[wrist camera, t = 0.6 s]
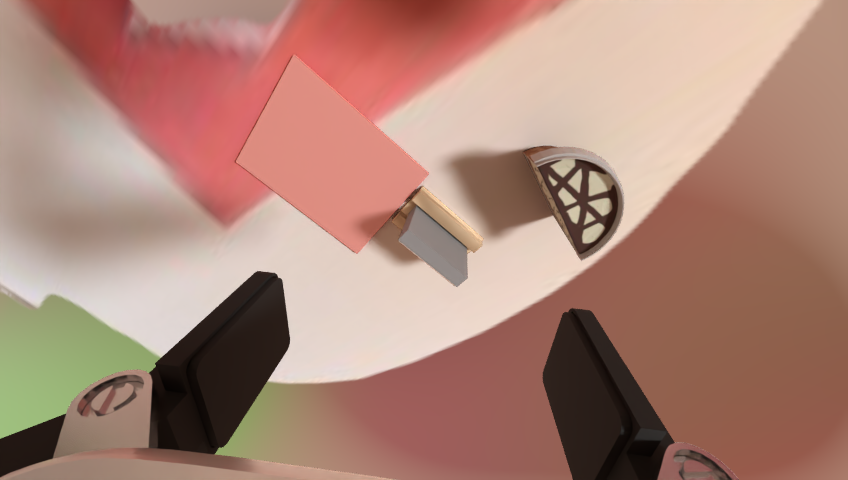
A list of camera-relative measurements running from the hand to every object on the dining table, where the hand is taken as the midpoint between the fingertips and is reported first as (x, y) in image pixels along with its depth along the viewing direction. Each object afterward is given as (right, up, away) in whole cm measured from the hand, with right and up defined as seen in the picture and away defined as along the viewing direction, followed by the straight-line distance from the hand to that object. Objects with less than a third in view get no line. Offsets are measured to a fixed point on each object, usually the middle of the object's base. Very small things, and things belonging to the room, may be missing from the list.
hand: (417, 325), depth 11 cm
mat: (-12, +12, +30) cm, 35 cm away
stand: (+2, +4, +33) cm, 33 cm away
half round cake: (+17, +11, +28) cm, 34 cm away
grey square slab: (+2, +4, +32) cm, 33 cm away
